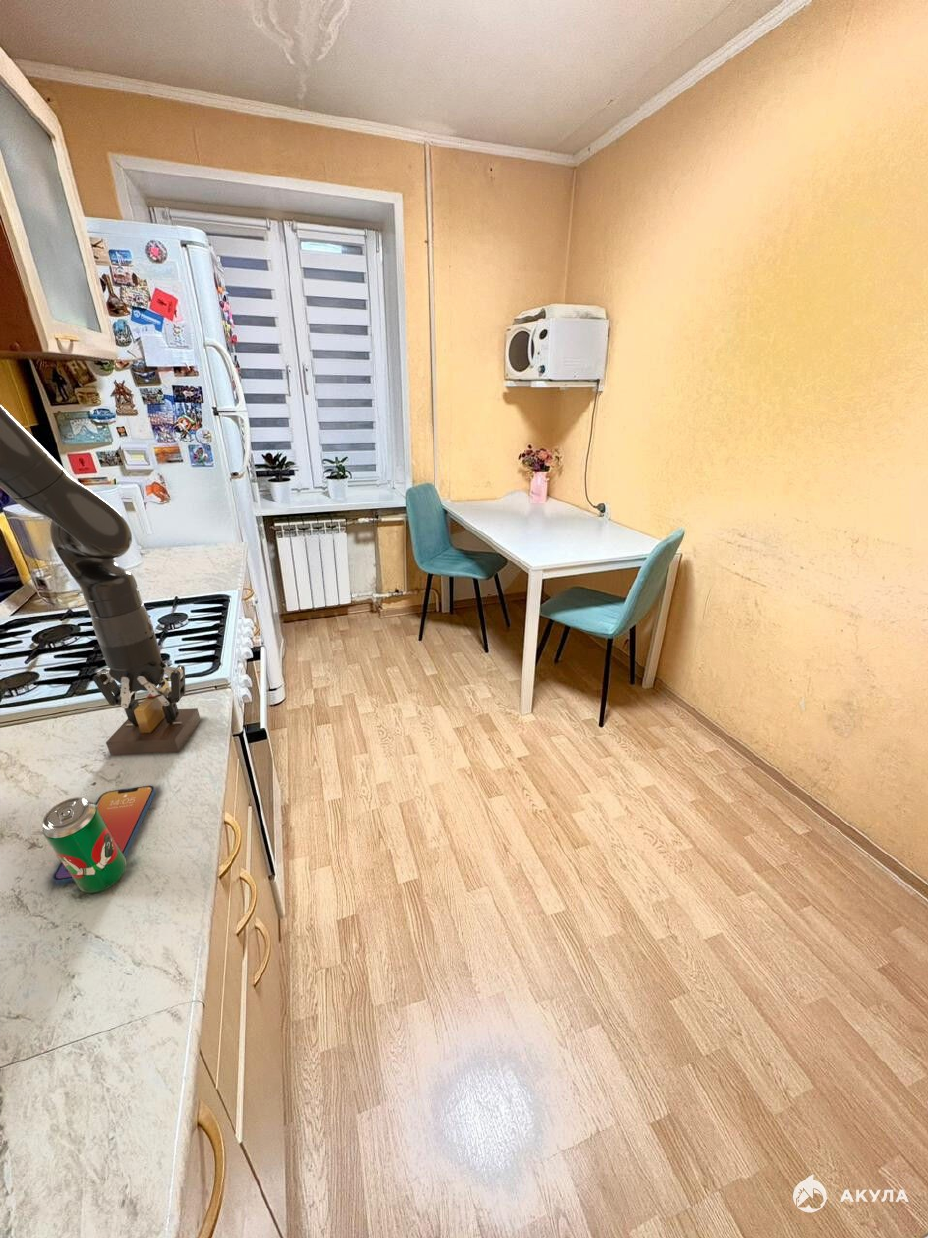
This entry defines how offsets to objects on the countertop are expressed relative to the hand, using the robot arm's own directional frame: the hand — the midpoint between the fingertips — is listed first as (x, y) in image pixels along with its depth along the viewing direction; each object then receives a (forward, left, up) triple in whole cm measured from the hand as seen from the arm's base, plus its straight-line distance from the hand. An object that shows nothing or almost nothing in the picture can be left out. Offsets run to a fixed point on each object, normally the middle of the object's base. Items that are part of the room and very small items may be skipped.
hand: (155, 721), depth 86 cm
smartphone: (+4, -22, -3) cm, 22 cm away
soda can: (+7, -29, -3) cm, 30 cm away
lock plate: (0, -1, -3) cm, 3 cm away
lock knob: (0, -1, 0) cm, 1 cm away
